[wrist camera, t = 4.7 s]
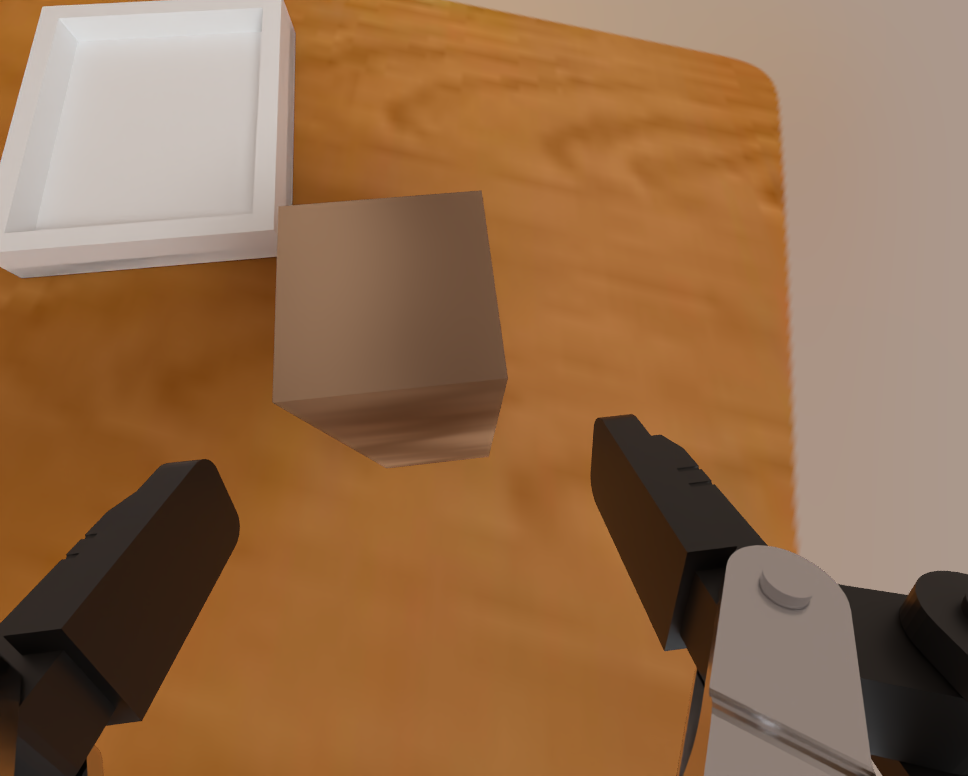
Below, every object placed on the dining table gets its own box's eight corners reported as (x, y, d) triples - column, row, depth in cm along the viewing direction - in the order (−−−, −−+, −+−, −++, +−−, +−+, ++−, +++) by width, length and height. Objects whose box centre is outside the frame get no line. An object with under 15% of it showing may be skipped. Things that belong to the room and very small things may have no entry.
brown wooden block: (386, 468, 19) (272, 402, 8) (381, 371, 20) (278, 206, 9) (488, 456, 19) (507, 378, 8) (477, 362, 20) (481, 190, 10)
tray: (21, 278, 21) (-25, 253, 19) (74, 45, 25) (42, 6, 23) (291, 255, 21) (273, 229, 20) (295, 32, 26) (281, -6, 24)
